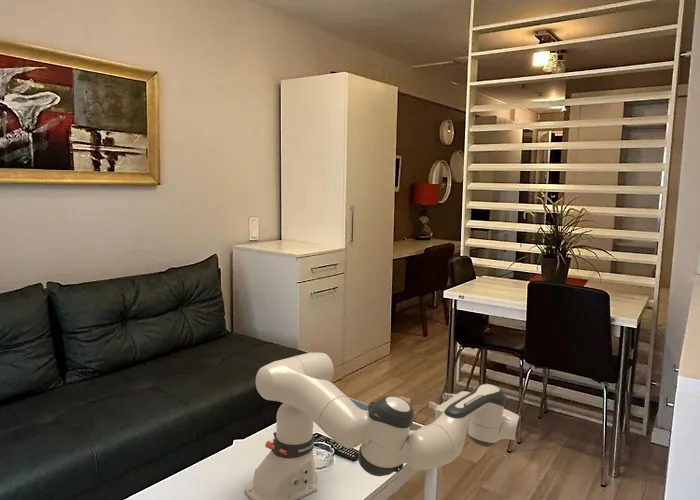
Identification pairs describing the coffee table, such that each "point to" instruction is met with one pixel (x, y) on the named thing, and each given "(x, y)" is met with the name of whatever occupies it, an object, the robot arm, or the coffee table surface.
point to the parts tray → (360, 404)
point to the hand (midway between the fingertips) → (436, 399)
